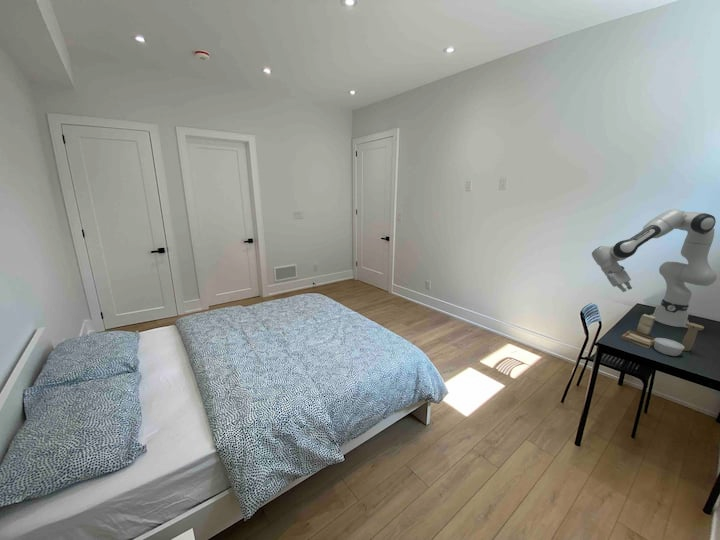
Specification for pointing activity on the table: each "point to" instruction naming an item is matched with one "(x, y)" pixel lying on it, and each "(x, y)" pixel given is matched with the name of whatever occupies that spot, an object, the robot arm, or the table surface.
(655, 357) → the table surface
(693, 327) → the handle
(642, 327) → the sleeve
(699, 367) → the table surface
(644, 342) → the wooden tray
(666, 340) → the ramekin
